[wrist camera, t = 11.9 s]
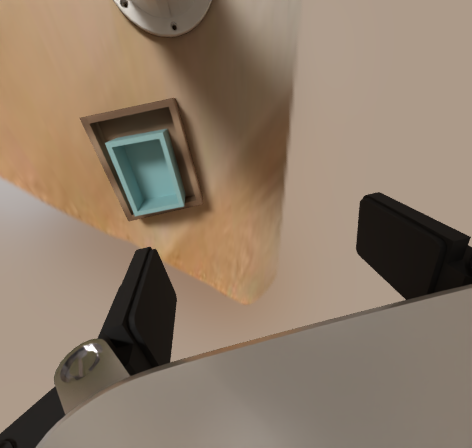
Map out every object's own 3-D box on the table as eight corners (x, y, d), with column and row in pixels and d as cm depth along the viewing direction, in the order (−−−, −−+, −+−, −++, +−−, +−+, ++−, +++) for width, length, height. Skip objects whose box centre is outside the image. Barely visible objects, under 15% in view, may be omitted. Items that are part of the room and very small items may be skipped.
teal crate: (117, 137, 32) (104, 143, 28) (167, 128, 32) (162, 132, 28) (142, 202, 37) (135, 216, 32) (185, 194, 37) (184, 206, 33)
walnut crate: (91, 116, 31) (79, 118, 28) (175, 98, 32) (173, 98, 29) (134, 211, 38) (128, 221, 35) (202, 195, 39) (203, 203, 36)
